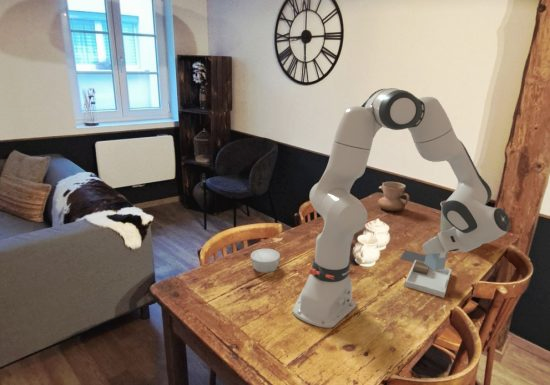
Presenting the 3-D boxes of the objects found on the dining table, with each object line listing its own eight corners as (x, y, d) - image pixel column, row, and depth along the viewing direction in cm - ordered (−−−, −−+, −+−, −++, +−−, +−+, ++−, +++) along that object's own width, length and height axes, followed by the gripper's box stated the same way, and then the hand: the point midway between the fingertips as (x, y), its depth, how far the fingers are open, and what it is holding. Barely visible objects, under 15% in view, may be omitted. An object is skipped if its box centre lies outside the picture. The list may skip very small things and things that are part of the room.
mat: (423, 266, 148) (423, 264, 148) (399, 260, 152) (400, 258, 152) (426, 256, 155) (427, 255, 155) (404, 251, 159) (405, 250, 159)
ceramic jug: (370, 207, 208) (372, 183, 203) (384, 201, 217) (387, 178, 213) (399, 217, 196) (403, 191, 191) (412, 210, 205) (416, 186, 200)
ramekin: (244, 266, 144) (244, 254, 142) (264, 257, 152) (265, 245, 150) (265, 278, 137) (265, 265, 135) (285, 267, 145) (285, 255, 143)
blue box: (444, 268, 133) (449, 243, 130) (434, 270, 131) (440, 245, 128) (433, 261, 137) (438, 237, 134) (424, 263, 136) (429, 238, 133)
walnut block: (426, 275, 140) (427, 269, 139) (412, 271, 143) (413, 265, 142) (428, 269, 144) (429, 263, 144) (415, 265, 147) (416, 260, 146)
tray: (443, 299, 127) (445, 292, 126) (404, 287, 133) (405, 281, 132) (450, 275, 142) (451, 269, 141) (414, 265, 148) (415, 259, 147)
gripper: (482, 225, 127) (453, 239, 138) (436, 232, 119) (410, 246, 131) (490, 242, 124) (460, 255, 136) (444, 251, 117) (417, 264, 128)
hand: (435, 251), depth 133 cm, fingers closed on blue box, 4 cm apart
